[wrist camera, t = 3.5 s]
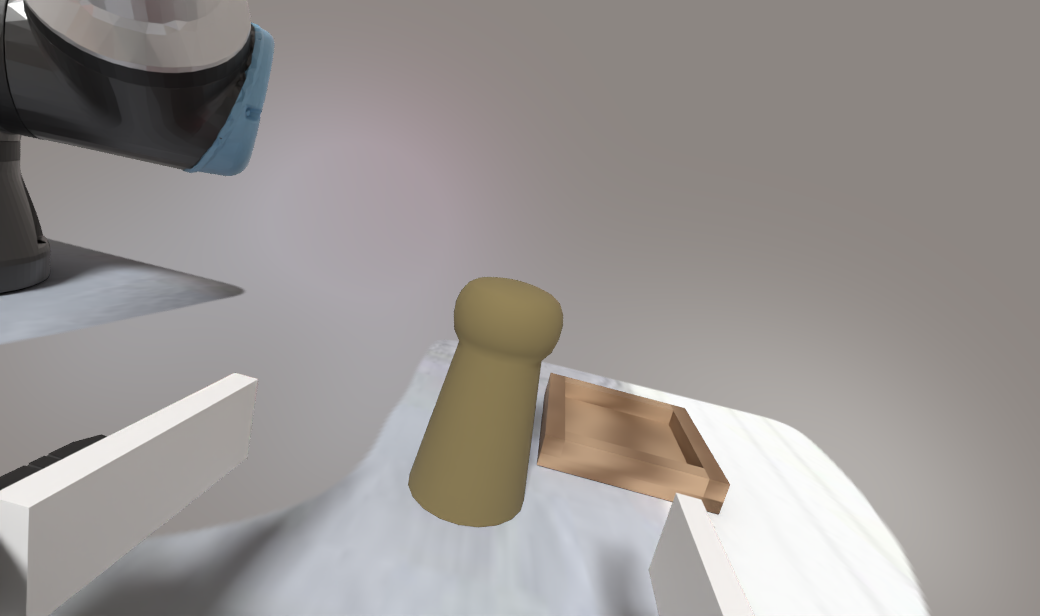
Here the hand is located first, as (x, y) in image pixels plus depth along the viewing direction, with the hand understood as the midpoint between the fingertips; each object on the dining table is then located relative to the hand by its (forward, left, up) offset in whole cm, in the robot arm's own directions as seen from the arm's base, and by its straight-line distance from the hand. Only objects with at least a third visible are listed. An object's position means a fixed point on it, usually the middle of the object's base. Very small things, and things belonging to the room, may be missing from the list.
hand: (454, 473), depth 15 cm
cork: (0, +9, -7) cm, 12 cm away
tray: (+9, +19, -6) cm, 22 cm away
